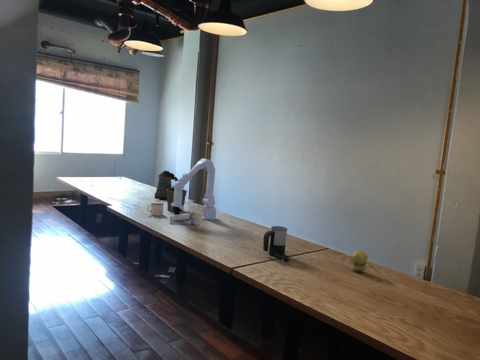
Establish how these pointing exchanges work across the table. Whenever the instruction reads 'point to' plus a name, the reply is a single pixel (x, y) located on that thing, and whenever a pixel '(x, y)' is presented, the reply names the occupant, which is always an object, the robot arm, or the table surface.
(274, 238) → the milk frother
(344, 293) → the table surface
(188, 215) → the white long block
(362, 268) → the hamburger
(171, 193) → the plant pot
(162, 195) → the beer stein
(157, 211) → the teacup with lid
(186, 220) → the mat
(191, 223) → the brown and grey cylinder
